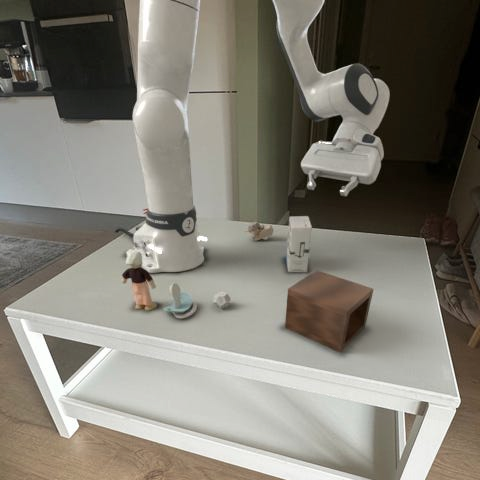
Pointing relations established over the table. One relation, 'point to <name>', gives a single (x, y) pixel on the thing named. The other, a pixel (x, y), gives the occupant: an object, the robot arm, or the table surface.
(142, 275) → the grandmother figurine
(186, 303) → the pacifier
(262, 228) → the toy character
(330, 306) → the shelf
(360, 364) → the table surface
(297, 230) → the ink box
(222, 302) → the game die
